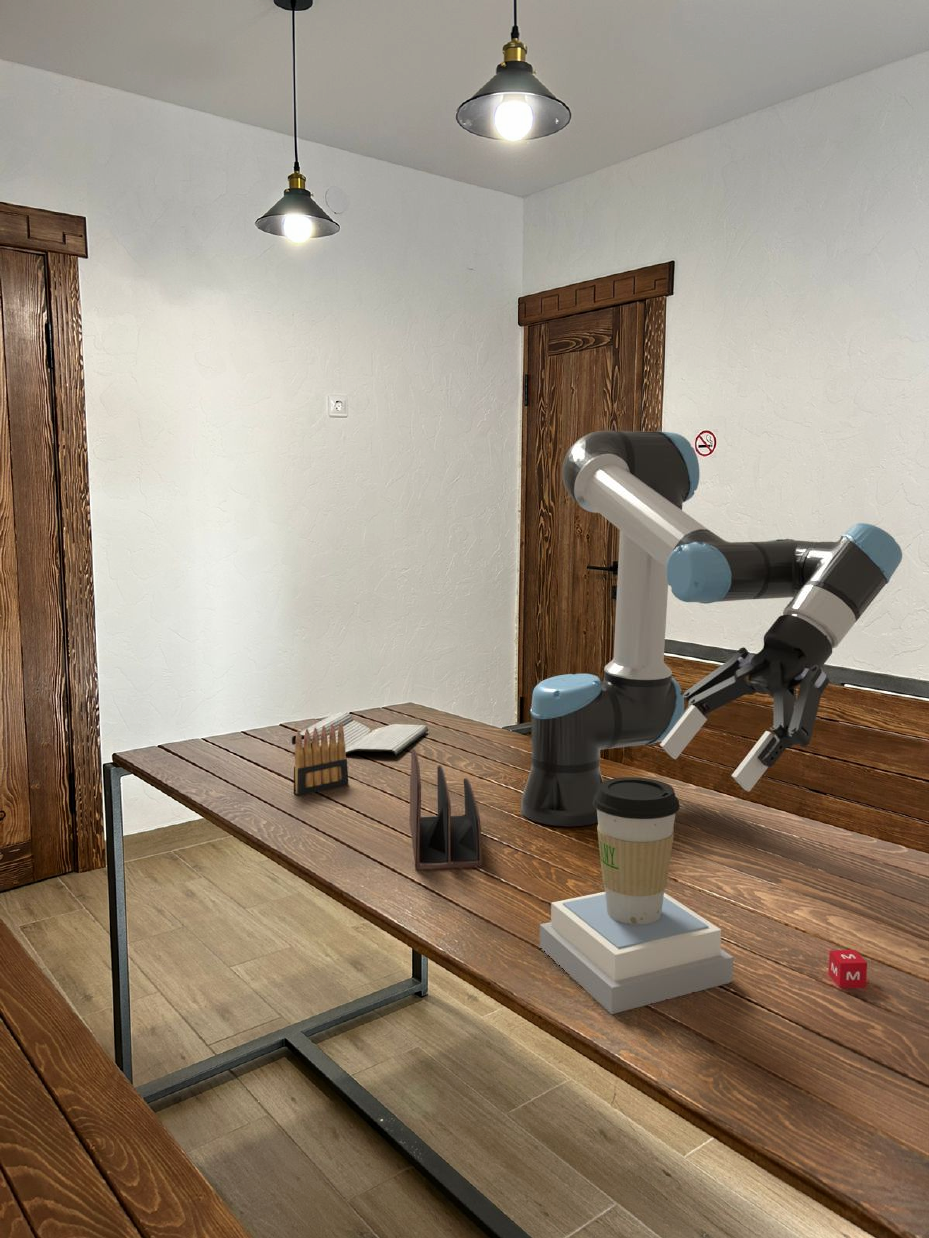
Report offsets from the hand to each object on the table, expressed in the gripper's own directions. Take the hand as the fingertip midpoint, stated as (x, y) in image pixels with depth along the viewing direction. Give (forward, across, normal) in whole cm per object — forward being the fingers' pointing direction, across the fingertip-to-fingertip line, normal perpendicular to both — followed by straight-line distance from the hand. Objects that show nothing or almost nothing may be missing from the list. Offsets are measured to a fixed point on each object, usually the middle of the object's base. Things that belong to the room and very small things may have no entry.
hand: (701, 767), depth 110 cm
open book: (+24, +107, -10) cm, 110 cm away
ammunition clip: (+35, +79, +2) cm, 86 cm away
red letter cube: (+8, -13, -24) cm, 29 cm away
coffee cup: (+18, 0, -6) cm, 19 cm away
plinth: (+22, 0, -10) cm, 24 cm away
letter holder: (+27, +44, -6) cm, 52 cm away
